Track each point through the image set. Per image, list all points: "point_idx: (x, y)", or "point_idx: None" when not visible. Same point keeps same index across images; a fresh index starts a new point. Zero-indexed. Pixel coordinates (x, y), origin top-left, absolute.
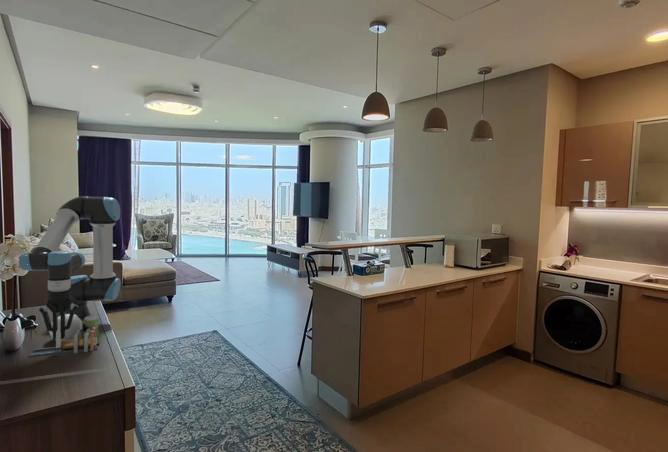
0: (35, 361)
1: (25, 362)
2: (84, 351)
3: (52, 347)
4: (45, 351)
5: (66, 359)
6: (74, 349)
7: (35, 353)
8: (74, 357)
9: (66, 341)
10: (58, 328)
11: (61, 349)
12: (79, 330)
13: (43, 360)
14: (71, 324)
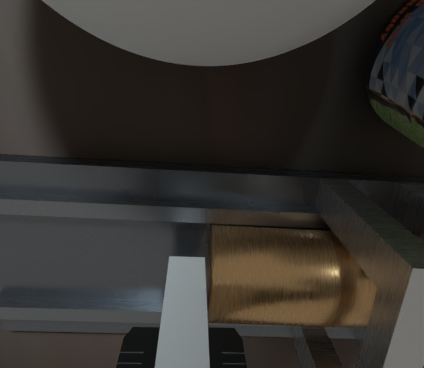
0: (67, 338)
1: (9, 334)
2: (359, 341)
3: (126, 209)
4: (86, 232)
5: (247, 365)
6: (303, 360)
7: (21, 250)
8: (290, 350)
9: (251, 320)
10: (111, 36)
11: (207, 289)
12: (421, 343)
13: (113, 338)
14: (343, 8)
